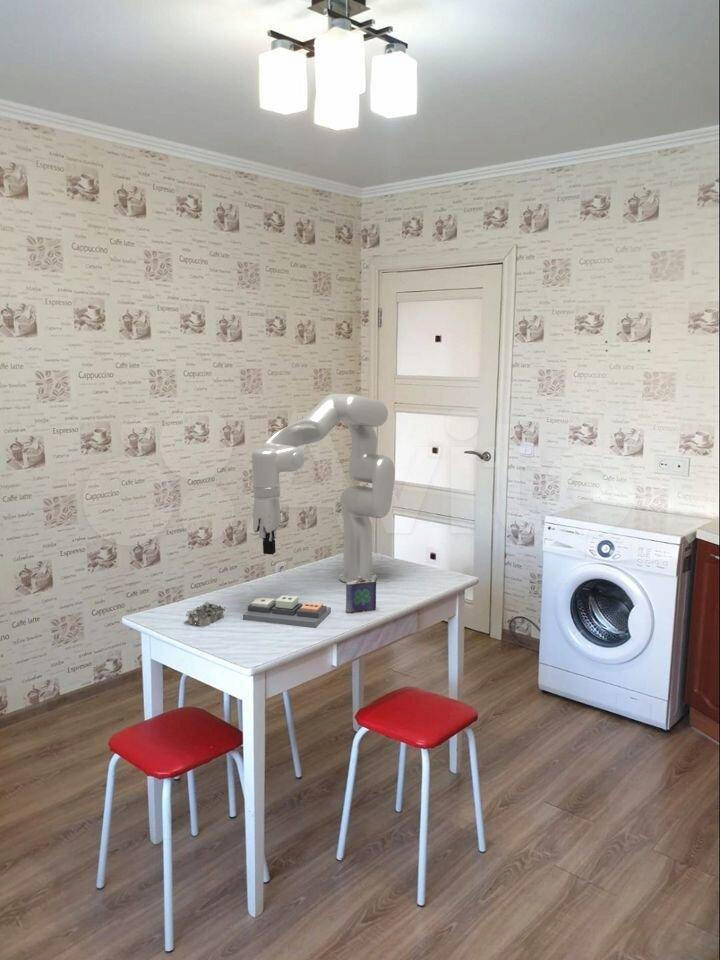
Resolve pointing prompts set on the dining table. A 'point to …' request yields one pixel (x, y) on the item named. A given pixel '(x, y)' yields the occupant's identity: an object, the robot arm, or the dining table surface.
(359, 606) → the flask
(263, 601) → the tile
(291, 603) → the tile
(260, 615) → the keypad board
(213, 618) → the egg carton
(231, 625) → the dining table surface
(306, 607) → the tile
